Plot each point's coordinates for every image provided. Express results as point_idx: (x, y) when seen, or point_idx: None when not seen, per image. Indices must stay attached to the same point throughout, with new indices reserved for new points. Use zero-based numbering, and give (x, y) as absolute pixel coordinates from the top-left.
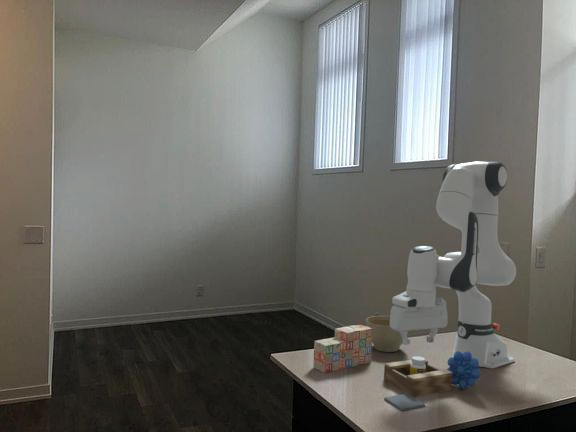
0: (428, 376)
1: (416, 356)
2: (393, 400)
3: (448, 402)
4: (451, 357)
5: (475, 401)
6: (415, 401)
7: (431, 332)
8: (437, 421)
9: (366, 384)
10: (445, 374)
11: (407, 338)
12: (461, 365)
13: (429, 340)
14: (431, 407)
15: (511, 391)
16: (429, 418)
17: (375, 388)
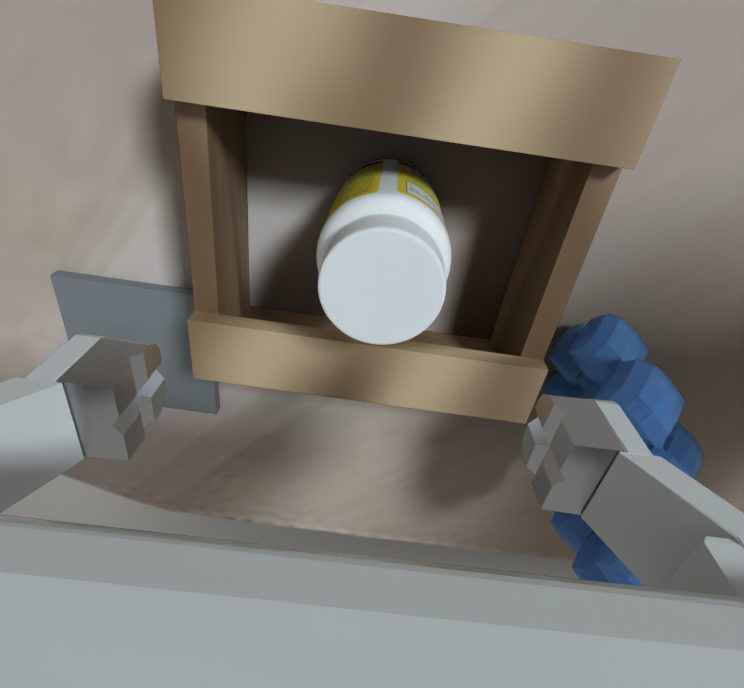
0: (321, 393)
1: (409, 242)
2: (84, 323)
3: (352, 427)
4: (659, 421)
5: (468, 469)
6: (191, 378)
7: (669, 524)
8: (183, 489)
9: (28, 2)
10: (464, 411)
11: (62, 468)
12: None
13: (532, 452)
14: (241, 422)
15: (722, 487)
16: (168, 467)
17: (70, 110)
